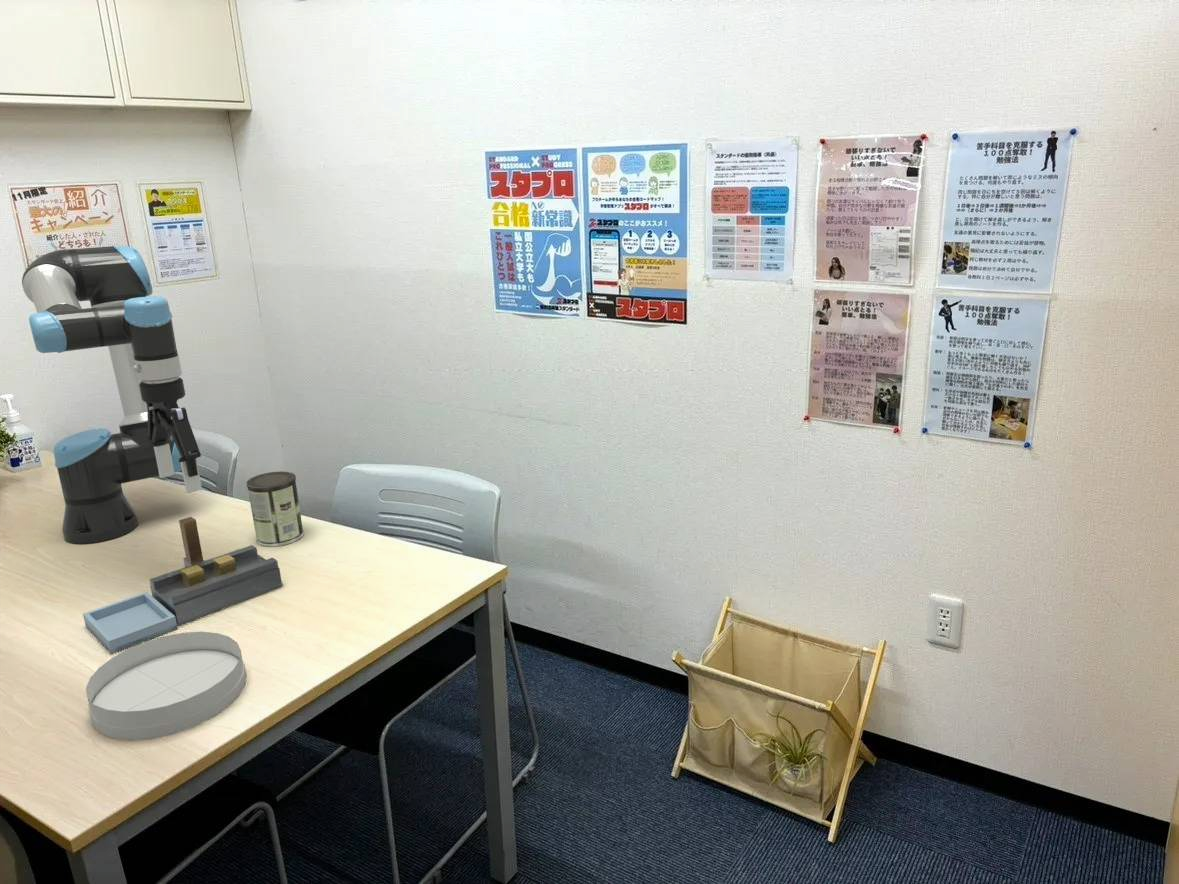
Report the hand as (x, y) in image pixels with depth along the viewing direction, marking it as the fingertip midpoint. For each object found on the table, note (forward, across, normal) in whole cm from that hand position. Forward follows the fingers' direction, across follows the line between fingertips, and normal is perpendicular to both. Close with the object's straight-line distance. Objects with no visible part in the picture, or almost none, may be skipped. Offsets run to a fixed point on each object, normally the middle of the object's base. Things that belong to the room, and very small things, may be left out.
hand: (180, 483), depth 163 cm
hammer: (+20, 0, 0) cm, 20 cm away
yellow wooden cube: (+16, +13, -5) cm, 21 cm away
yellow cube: (+16, +13, +1) cm, 21 cm away
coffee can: (+20, -4, +20) cm, 29 cm away
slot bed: (+20, +13, -1) cm, 24 cm away
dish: (+21, +40, -20) cm, 49 cm away
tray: (+20, +13, -17) cm, 29 cm away
